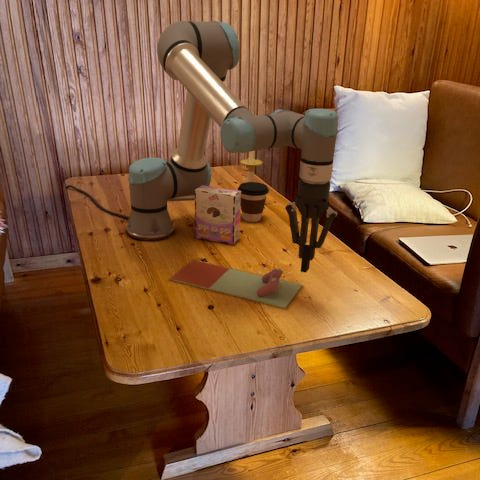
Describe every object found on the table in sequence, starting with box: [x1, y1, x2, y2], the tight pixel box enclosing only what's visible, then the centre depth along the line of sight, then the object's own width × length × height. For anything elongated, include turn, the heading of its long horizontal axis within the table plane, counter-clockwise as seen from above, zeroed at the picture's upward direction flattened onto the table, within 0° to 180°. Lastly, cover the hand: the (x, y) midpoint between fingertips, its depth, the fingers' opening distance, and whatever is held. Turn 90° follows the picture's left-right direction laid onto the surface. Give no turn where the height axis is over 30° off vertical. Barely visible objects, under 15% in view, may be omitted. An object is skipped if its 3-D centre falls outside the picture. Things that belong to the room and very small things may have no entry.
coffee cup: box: [237, 181, 270, 223], centre depth 188 cm, size 11×11×12 cm
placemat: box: [169, 259, 303, 310], centre depth 148 cm, size 34×14×1 cm, turn 67°
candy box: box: [194, 185, 241, 246], centre depth 170 cm, size 14×6×16 cm, turn 69°
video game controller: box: [257, 267, 284, 296], centre depth 143 cm, size 10×5×7 cm, turn 168°
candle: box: [239, 151, 264, 182], centre depth 198 cm, size 10×10×32 cm
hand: (304, 270), depth 137 cm, fingers closed
